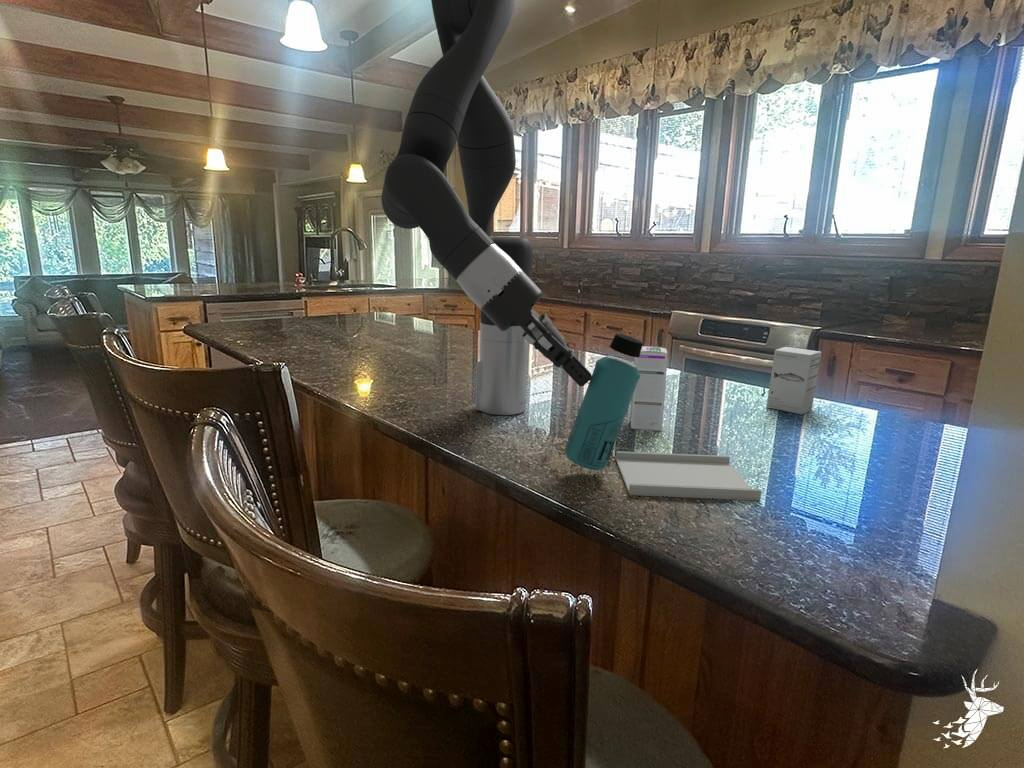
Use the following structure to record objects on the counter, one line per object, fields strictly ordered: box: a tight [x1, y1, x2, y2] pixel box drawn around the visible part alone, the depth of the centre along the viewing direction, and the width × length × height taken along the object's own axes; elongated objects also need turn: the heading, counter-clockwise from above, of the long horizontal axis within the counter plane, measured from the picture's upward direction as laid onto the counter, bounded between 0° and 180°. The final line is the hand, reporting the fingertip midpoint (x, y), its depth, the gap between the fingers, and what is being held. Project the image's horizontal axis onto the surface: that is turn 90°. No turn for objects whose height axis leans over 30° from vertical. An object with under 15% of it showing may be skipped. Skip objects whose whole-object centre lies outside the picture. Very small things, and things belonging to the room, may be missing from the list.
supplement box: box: [766, 346, 823, 416], centre depth 119 cm, size 7×7×13 cm
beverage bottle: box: [564, 333, 644, 471], centre depth 78 cm, size 6×7×20 cm
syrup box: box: [630, 345, 668, 432], centre depth 104 cm, size 6×6×14 cm
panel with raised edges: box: [615, 450, 762, 502], centre depth 81 cm, size 17×13×1 cm
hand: (586, 381), depth 77 cm, fingers closed
